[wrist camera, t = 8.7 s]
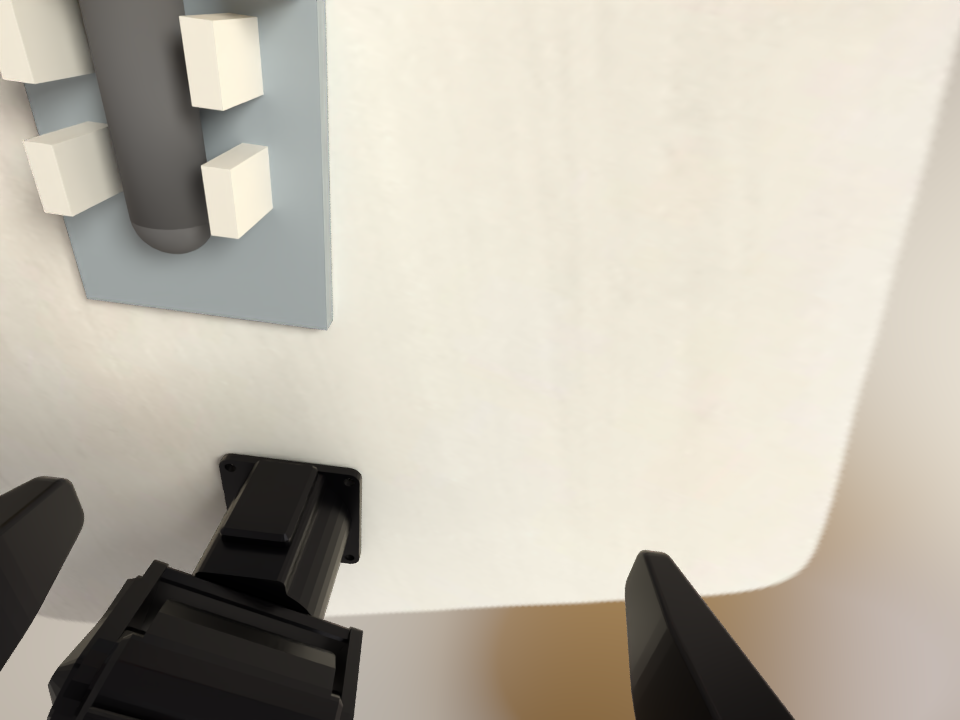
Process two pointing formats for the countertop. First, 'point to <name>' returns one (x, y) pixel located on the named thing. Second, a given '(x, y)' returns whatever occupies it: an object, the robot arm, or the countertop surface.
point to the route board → (226, 176)
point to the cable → (151, 118)
